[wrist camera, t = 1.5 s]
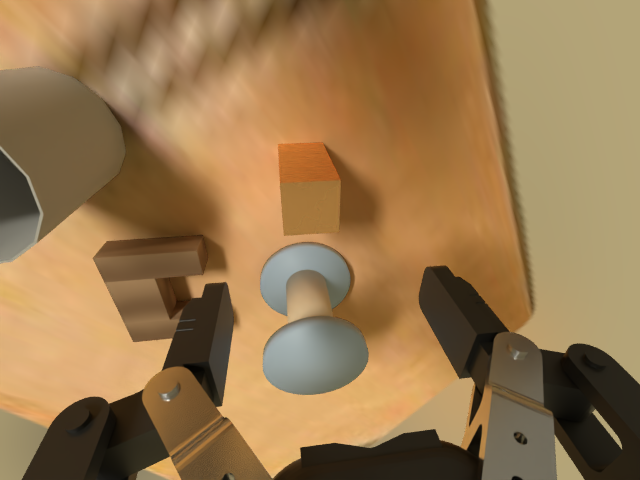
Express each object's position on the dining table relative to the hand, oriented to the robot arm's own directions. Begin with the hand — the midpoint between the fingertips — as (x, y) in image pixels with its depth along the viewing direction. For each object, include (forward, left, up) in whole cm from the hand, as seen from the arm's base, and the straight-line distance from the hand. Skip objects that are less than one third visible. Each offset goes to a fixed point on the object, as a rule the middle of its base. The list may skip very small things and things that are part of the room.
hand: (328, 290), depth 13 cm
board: (+11, -13, -15) cm, 23 cm away
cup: (-3, -17, -16) cm, 23 cm away
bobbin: (+12, 0, -15) cm, 19 cm away
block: (0, 0, -15) cm, 15 cm away
